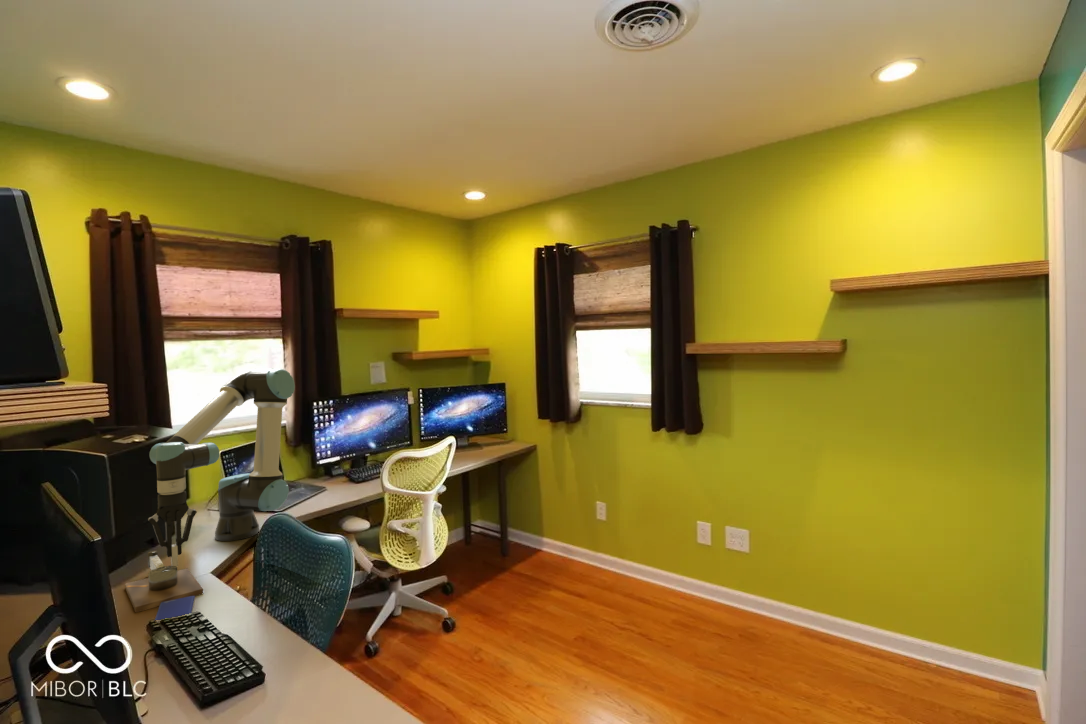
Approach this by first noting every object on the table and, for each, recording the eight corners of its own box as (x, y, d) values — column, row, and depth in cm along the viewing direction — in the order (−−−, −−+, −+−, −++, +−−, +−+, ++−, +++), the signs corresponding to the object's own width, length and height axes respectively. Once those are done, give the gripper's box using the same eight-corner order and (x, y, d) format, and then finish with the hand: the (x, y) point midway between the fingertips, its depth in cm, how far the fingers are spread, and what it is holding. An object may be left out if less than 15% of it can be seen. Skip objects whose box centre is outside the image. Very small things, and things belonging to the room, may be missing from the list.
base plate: (187, 572, 176) (187, 567, 176) (203, 593, 160) (203, 588, 160) (125, 588, 165) (124, 583, 165) (135, 612, 149) (135, 606, 149)
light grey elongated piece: (179, 584, 162) (179, 567, 162) (150, 592, 157) (150, 574, 157) (165, 564, 179) (164, 548, 179) (139, 570, 174) (138, 554, 174)
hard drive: (160, 602, 153) (153, 620, 142) (194, 595, 157) (191, 612, 146) (160, 607, 153) (154, 626, 142) (195, 600, 157) (191, 618, 146)
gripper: (148, 498, 166) (151, 575, 166) (198, 489, 175) (201, 563, 175) (144, 493, 171) (147, 568, 172) (193, 486, 180) (195, 557, 181)
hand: (174, 565), depth 173 cm, fingers closed
